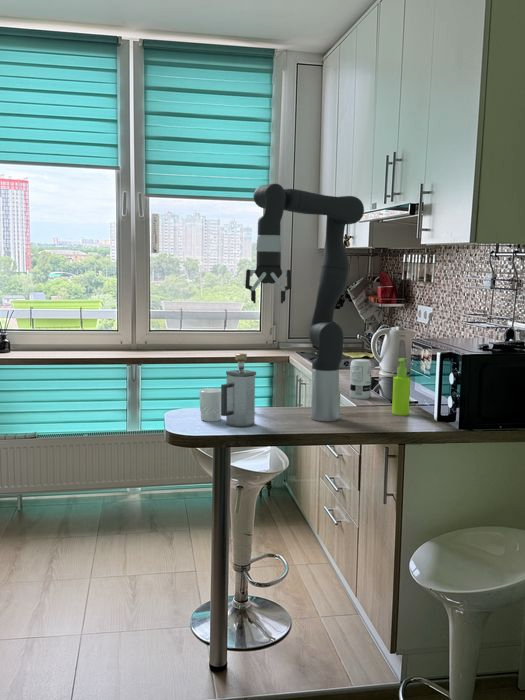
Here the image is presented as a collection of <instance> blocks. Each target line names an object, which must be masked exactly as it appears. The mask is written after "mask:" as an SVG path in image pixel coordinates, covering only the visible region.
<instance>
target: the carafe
mask: <svg viewBox="0 0 525 700" xmlns="http://www.w3.org/2000/svg"><path fill="white" fill-rule="evenodd" d="M225 375H226V383H224V384H221V387H220V389H221V417H225V418H226V422H225V423H226V426H227V427H230V428H238V429H239V428H241V429H243V428H250V427H254V426H255V417H256V416H255V414H256V410H255V406H256V404H255V403H256V401H255V400H256V399H255V396H256V395H255V394H256V376H257V371H253V370H248V369H243V372H239V369H234V370H227V371H225Z"/></svg>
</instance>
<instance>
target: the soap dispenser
mask: <svg viewBox="0 0 525 700" xmlns="http://www.w3.org/2000/svg"><path fill="white" fill-rule="evenodd" d="M406 360H407V359H406V357H400V358H398V359H397V362H398V363H399V366H397V369H396V376H393V378H392V399H391V400H392V401H391V402H392V403H391V404H392V405H391V414H392V413H393V414H392V415H394V414H395V416H403V417H404V416H408V415H409V414H410V393H411V391H410V389H411V377H410V376H408V375H407V373H408V367H406V366H405V365H406Z"/></svg>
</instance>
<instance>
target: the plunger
mask: <svg viewBox="0 0 525 700" xmlns="http://www.w3.org/2000/svg"><path fill="white" fill-rule="evenodd" d="M247 356H248V354H247V353H235V361H236V362H237V370H239V372H243V370H245V362H246V361H247V358H248V357H247Z"/></svg>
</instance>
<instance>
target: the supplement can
mask: <svg viewBox="0 0 525 700" xmlns="http://www.w3.org/2000/svg"><path fill="white" fill-rule="evenodd" d="M372 366H373V365H372V362H371V360H370V359H366V358H352V360H351V362H350V366H349V367H350V372H349V373H350V374H349V375H350V376H349V377H350V378H349V397H350V398H352V399H355V400H356V399H357V400H367V399H369V398H370V397H371V395H372V394H371V393H372V392H371V391H372V389H371V388H372Z"/></svg>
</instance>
